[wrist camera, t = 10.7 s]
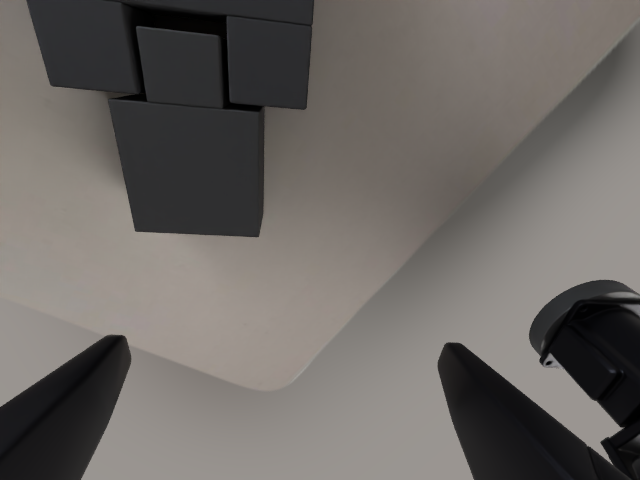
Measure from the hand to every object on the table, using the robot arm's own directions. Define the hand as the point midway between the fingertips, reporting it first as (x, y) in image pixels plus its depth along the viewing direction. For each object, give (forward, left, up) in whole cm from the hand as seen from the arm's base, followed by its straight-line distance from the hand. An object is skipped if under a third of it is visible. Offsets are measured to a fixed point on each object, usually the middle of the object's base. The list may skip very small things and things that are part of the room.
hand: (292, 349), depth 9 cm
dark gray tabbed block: (+5, -4, -11) cm, 12 cm away
